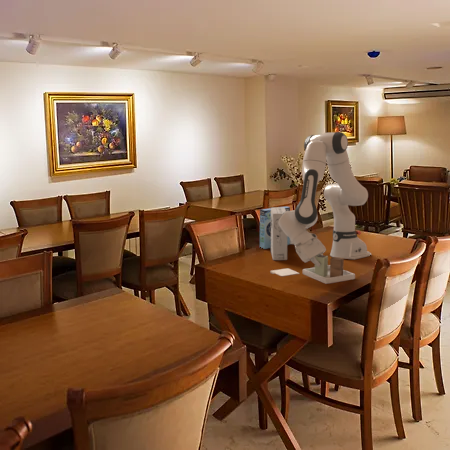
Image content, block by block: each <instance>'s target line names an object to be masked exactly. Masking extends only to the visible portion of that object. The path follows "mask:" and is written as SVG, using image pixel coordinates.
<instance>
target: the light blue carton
mask: <svg viewBox="0 0 450 450" xmlns="http://www.w3.org/2000/svg"><path fill="white" fill-rule="evenodd" d="M283 207H284V208H285V210H286V211H291V206H283ZM271 208H272V207H269V208H260V209H259V248H260V247H261V248H260V249H262V248H263V250H268V249H271ZM275 208H277V206H276V207H275ZM290 245H291V244H290V238H289V237H288V236H287V246H290Z"/></svg>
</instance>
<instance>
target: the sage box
mask: <svg viewBox="0 0 450 450" xmlns="http://www.w3.org/2000/svg"><path fill="white" fill-rule="evenodd" d="M315 258H316V260H317V261H320V263H321V265H320V266H319V267H317V265H316V264H314V267H315V274H317V275H320V276H322V277H325V276H327V275H328V265H329V263H328V262H329V256H328V255H324V254H323V255H318V256H316V257H315Z"/></svg>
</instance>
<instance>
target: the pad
mask: <svg viewBox="0 0 450 450" xmlns="http://www.w3.org/2000/svg"><path fill="white" fill-rule="evenodd" d="M269 272H270V274H272V275H274V274H275V275H277V276H280V277H286V276H295V275H300V272H297V271H296V270H293V269H292V268H281V269H279V268H278V269H274V270H273V269H272V270H270V271H269Z"/></svg>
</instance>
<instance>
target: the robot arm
mask: <svg viewBox="0 0 450 450" xmlns="http://www.w3.org/2000/svg"><path fill="white" fill-rule="evenodd" d="M348 145H349V140H348V137H347V135H346V134H345V133H344V132H341V131H336V132H324V133H318V134H311V135H308V136H307V137H306V139H305V140H304V143H303V149H304V155H303V159H302V169H301V172H302V173H301V174H302V180H303V184H302V191H301V197H300V200H299V202H298V204H297V205H296V207H295V208H294V210H290V211H286V212H284V213H283V214H282V215H281V217H280V218H279V221H278V223H279V226H280V227H281V229H282V230H283V232H284V233H285V234H286V235H287V236H288V237H289V238H290V239H291V241H292V243H293V244H292V245H294V249H295V252H296V254H297V255H298V257H299V258H300V260H301V261H302V262H304V263H308V262H311V263H313V264H314V265H315V264H316V265H317V267H319V266H320V265H321V263H320V261H317V260H316V258H315V257H316V256H318V255H324V253H325V252H326V251H327V249H326V246H325V245H324V243H322V241H321V240H320V239H319V238H318V236H317V235H316V233H311V232H308V230H307V229H309V228H311V227H313V226H314V225H315V224H316V223H317V221H318V210H317V206H316V196H317V187H318V184H319V182H320V181H322V179H323V178H324V174H325V172H326V167H327V168H328V173H329V175H330V178H331V179H332V180H333V181H334V182H335V183H330V184H327V185H325V188H324V190H323V196H324V199H325V200H326V202H327V203H328V204H329V206H330V207H331V210H332V211H331V212H332V215H333V230H332V245H331V250H330V254H329V256H330V257H332V258H333V257H340V258H344V260H346V259H348V260H358V259H362V258H367V257H370V255H371V256H372V252H370V251H368V247H367V244H366V242H365V241H363V240H362V239H361V238H359V237H358V235H359V236H360V235H362V231H361V230H356V216H355V214H354V213H353V212H352V211H351V209H350V208H349V206H351V207H357V206H364V205H365V204H366V202H367V201H368V198H369V192H368V190H367V188H366V187H364V186H363V185H362V184H361V183H360V182H359V181H358V180H357V178H356V177H355V175H354V173H353V170H352V167H351V163H350V159H349V155H348V154H349V153H348V150H347V149H348Z"/></svg>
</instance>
